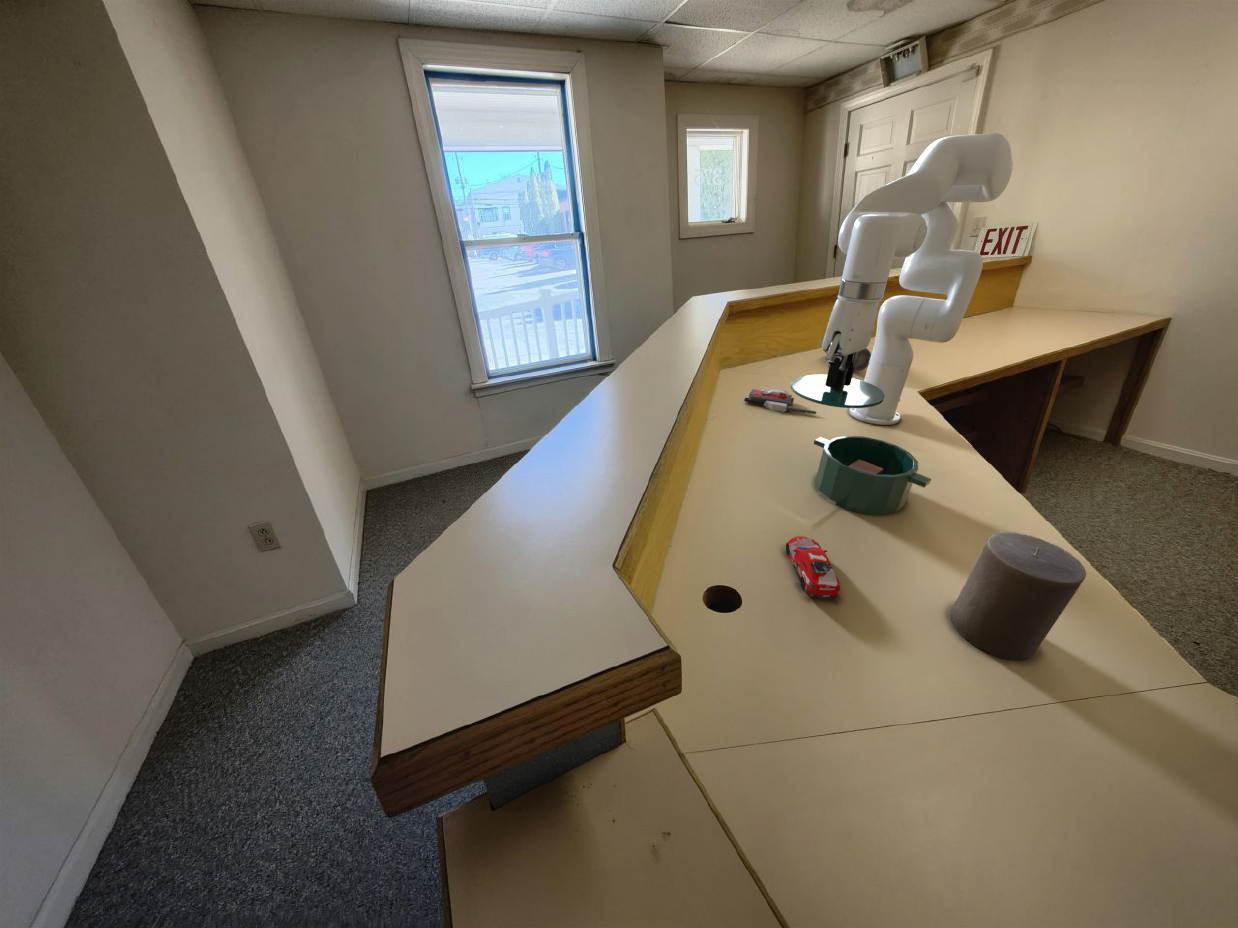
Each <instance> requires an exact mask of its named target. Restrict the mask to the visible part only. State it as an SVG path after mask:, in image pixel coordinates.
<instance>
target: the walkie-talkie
mask: <svg viewBox="0 0 1238 928" xmlns="http://www.w3.org/2000/svg"><path fill="white" fill-rule="evenodd" d="M794 400H795V397H793V396H792V394H789V392H788V391H787V390H782V389H775V388H772V389H770V390H765V388H762V389H756V388H755V389H754V388H752V389H751V391H750V392H749V394H748V397H745V398H744V399H743V401H744V402H746V403H748V404H750V405H756V406H763V407H765V408H766V409H769V410H771V411H775V412H782V413H786V412H794V413H800V414H806V413H807V414H812V415H816V414H817V411H816V410H810V409H804V408H798V407H792V406H793V404H794V402H795V401H794Z"/></svg>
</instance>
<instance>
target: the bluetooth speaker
mask: <svg viewBox="0 0 1238 928" xmlns="http://www.w3.org/2000/svg"><path fill="white" fill-rule="evenodd" d="M824 337H825V335H824V336H823V337H822V339H821V342H820V347H821V348H822V345H823V340H824ZM823 352H824V353H825V354H827V352H828V351H823ZM837 352H841V350H838V351H837ZM871 354H872V352H870V349H868V347H866V348H865V349H864V350H863V351H862V352H861V354H860V356H859V357H858V361H857V364H856V366H853V367H855V369H854V373H855V372H861V371H864V370H865V369H866V368H868V365H869V361H870V358H871ZM837 358H840V361H841V359H842V357H838V356H837Z"/></svg>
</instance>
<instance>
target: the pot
mask: <svg viewBox="0 0 1238 928" xmlns="http://www.w3.org/2000/svg"><path fill="white" fill-rule="evenodd" d="M813 445H814V446H818V447H820V448H822V454H821V458H820V461H819V465H818V470H817V472H816V477H815V481H814V484H815V485H816V486H817V489H818V491H819V492H820V493H822V495H824V496H825V497H827V498H828V500H831V501H833V502H835V506H838V507H840V508H843V509H844V510H848V511H852V512H854V513H860V514H865V515H875V516H877V515H878V516H882V515H883V516H884V515H890V514H893V513H896V512H898V511H900V510H901V509H902V508H903V507H904V505H905V504H906V502H907V499H908V497H909V494H910V491H911V489H912V486H913V484H914V485H916V486H919V487H921V488H926V487H927V486H929V485H930V484H931V481H932V478H930V477H928V476H925V475H923V474H920V473H918V470H919V461H918V460H917V459H916V457H915V456H914V455H913V454H912V453H911V452H910V451H907V450H906V449H904V448H903V447H901V446H899V445H897V444H894V443H891V442H888V441H885V440H883V439H878V438H872V437H868V436H861V435H842V436H836V437H833V438H831V439H827V438H825V437H823V436H819V437H818V438H815V439H814V440H813ZM859 459H860V460H862V461H865V462H868V463H870V464H873V465H875V466H878V467H880V468H883V469H884V470H883V473H882V475H881V474H873V473H868V472H864V471H859V470H856V469H854V468H851V467H849V465H851V464H853V463H854V462H856V461H858V460H859Z"/></svg>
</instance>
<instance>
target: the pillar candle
mask: <svg viewBox="0 0 1238 928" xmlns="http://www.w3.org/2000/svg"><path fill="white" fill-rule="evenodd" d="M1086 577H1087V571H1086V568H1085V566H1084V565H1083V564H1082V562H1081V561H1080V560H1079V559H1078V558H1076V557H1075V556H1074V555H1073V554H1072V553H1071V552H1070V551H1068V550H1065V549H1064V548H1063V547H1061V546H1059V545H1057V544H1054V543H1052V542H1049V541H1046V540H1044V539H1042V538H1040V537H1036V536H1033V535H1030V534H1025V533H1019V532H1013V531H1012V532H1011V531H1010V532H1009V531H996V532H994V533H993V534H992V535H991V536H989V538H988V539H987V541H986V543H985V544H984V547H983V549H982V551H981V553H980V555H979V557H978V559H977V560H976V563H975V565H973V568H972V570H971V572H970V573H969V576H968V577H967V580H966V581H965V583H964V585H963V586H962V588H961V590H960V592H959V594H958V596H957V598H956V600H955V602H954V605H953V607H952V608H951V609H952V610H951V613H950V619H951V622H952V624H953V627H954V628H955V629H956V631H957V632H958V633H959V635H960V636H961V637H962V638H963V639H965V640H966V641H967V642H969V643H970V644H971V645H972V646H974V647H975V648H977V649H979V650H981V651H983V652H985V653H986V654H990V655H992V656H995V657H997V658H1000V659H1003V660H1009V661H1023V660H1027V659H1030V658H1031V657H1033V655H1035V653H1037V651H1038V649H1039V648H1040V646H1041V644H1042V643H1043V641H1044V640H1045V638H1046V637H1047V636H1048V634H1049V633H1050V631H1051V629H1052V628H1053V627H1054V625H1055V624H1056V623H1057V621H1058V619H1059V618H1060V617H1061V615H1062V613H1063V612H1064V611H1065V609H1066V608H1067V605H1069V603H1070V601H1071V600H1072V599H1073V597H1074V595H1075V594H1076V592H1077V591H1078V590H1079V588H1080V586H1081V585H1082V584H1083V582H1084V581H1085V579H1086Z"/></svg>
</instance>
